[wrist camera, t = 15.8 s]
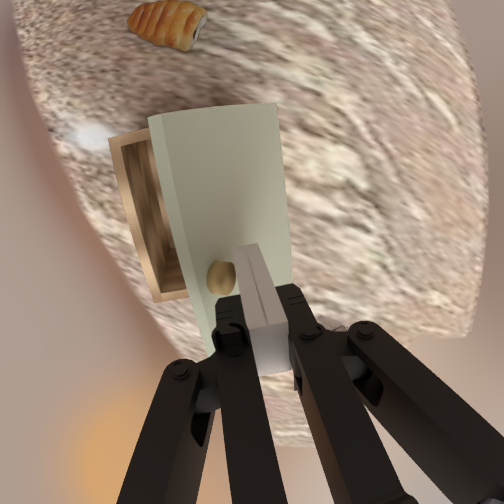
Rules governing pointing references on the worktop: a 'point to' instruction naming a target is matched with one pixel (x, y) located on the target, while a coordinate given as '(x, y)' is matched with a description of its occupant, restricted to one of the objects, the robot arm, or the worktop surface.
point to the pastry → (168, 23)
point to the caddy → (147, 214)
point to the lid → (222, 197)
